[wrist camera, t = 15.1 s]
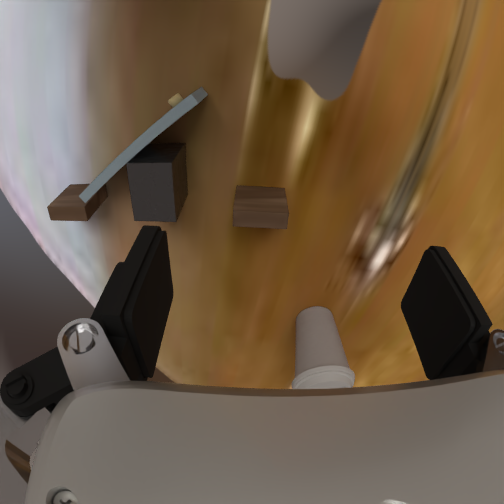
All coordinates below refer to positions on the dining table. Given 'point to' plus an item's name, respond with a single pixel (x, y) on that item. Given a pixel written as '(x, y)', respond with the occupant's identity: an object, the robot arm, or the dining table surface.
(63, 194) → the pair of brown blocks
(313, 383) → the coffee cup
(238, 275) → the dining table surface
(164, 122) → the grey curved plank
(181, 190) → the dark grey block
